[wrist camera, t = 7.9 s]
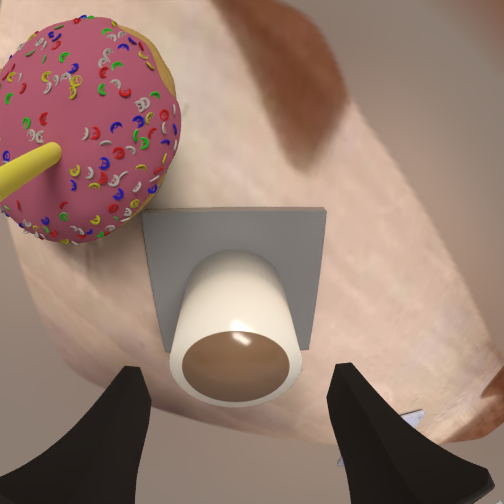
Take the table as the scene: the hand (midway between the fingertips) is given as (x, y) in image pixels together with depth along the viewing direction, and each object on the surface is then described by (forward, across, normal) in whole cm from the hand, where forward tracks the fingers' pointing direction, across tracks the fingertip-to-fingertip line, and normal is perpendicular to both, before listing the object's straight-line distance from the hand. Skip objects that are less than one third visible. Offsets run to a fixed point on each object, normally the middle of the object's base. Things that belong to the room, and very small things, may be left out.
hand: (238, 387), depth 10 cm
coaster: (+7, 0, 0) cm, 7 cm away
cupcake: (+7, +6, -9) cm, 13 cm away
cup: (+6, 0, 0) cm, 6 cm away
